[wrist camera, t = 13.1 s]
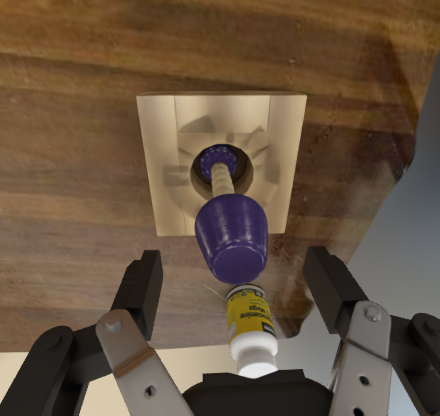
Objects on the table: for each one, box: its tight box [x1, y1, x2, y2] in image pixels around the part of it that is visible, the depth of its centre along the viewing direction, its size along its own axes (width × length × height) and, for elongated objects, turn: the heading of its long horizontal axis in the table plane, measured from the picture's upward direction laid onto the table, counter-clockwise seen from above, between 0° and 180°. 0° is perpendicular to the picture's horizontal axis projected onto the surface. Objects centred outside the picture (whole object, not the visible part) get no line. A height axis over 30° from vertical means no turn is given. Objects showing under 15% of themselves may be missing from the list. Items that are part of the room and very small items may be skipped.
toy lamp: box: [194, 144, 268, 285], centre depth 20 cm, size 5×5×17 cm
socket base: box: [136, 91, 307, 236], centre depth 25 cm, size 14×14×4 cm
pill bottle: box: [226, 285, 278, 378], centre depth 33 cm, size 6×6×11 cm
